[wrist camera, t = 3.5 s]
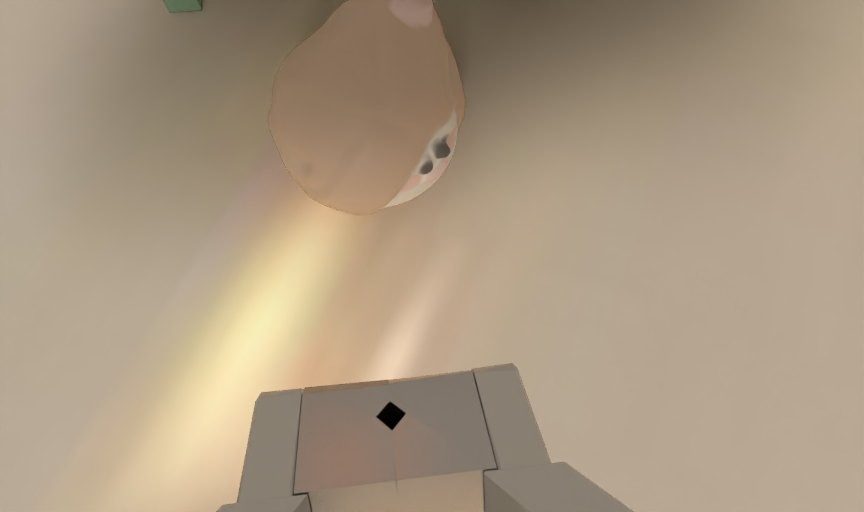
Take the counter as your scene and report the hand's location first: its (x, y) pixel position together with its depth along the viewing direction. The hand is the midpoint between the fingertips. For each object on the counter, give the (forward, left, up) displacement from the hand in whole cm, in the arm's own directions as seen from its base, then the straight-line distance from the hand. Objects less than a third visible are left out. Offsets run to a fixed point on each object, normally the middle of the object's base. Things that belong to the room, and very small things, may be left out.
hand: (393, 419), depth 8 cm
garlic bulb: (-5, -9, -14) cm, 18 cm away
